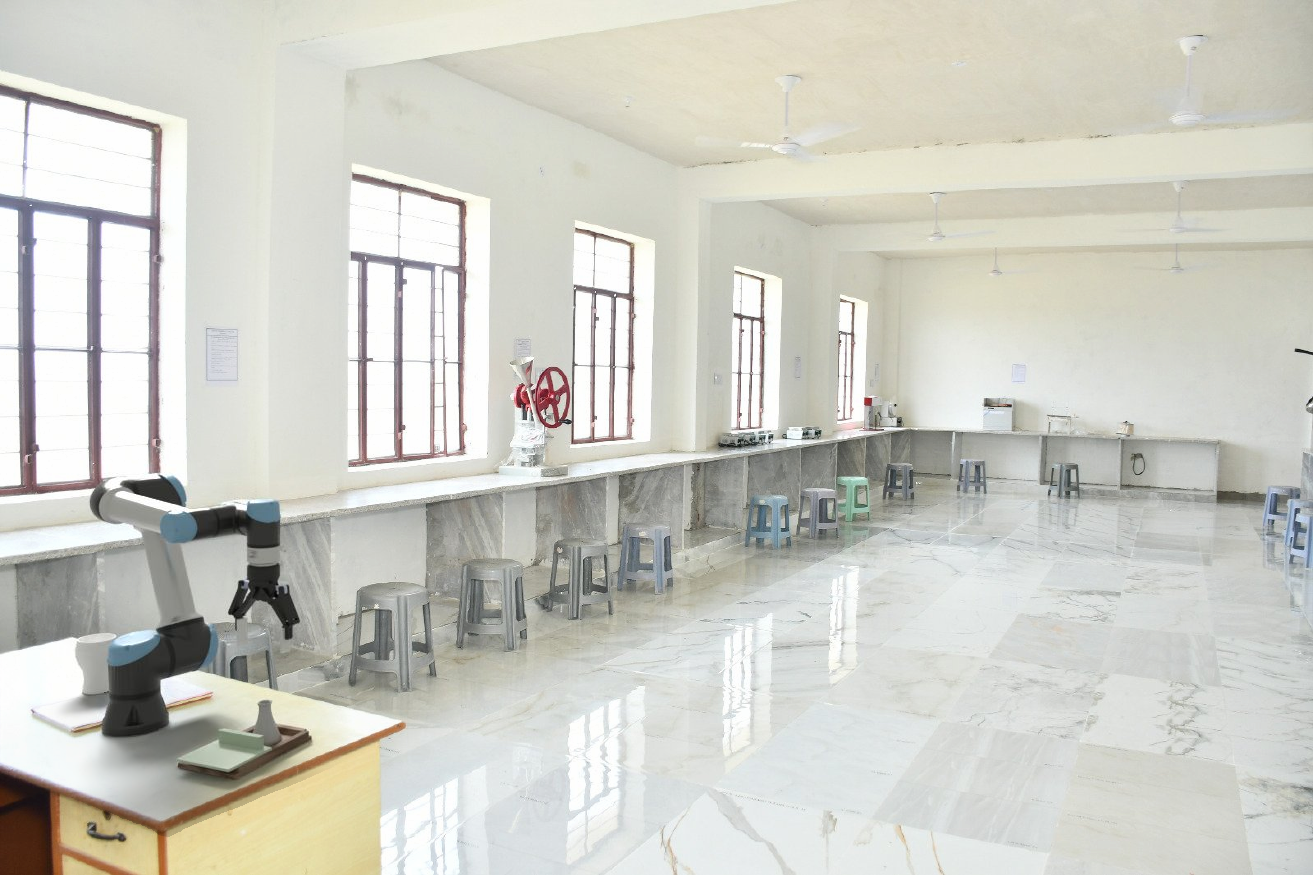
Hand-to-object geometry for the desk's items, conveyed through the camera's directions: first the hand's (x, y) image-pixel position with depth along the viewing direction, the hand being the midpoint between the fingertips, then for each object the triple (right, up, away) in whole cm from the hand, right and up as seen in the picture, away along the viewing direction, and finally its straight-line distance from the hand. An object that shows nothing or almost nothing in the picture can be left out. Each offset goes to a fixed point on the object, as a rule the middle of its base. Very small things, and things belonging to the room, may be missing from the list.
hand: (263, 648), depth 240 cm
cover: (-3, -22, -14) cm, 26 cm away
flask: (+1, -23, -2) cm, 23 cm away
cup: (-60, -20, +35) cm, 73 cm away
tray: (-1, -24, -6) cm, 25 cm away
